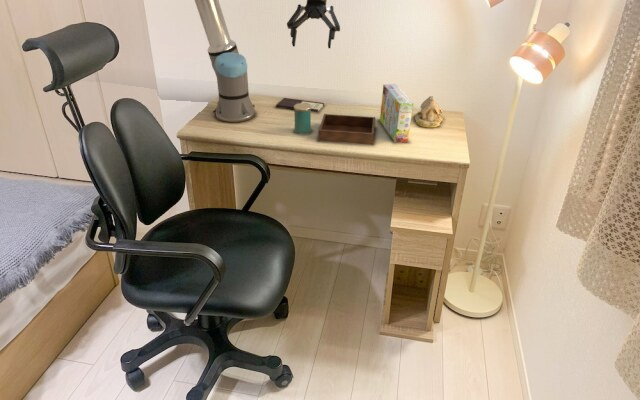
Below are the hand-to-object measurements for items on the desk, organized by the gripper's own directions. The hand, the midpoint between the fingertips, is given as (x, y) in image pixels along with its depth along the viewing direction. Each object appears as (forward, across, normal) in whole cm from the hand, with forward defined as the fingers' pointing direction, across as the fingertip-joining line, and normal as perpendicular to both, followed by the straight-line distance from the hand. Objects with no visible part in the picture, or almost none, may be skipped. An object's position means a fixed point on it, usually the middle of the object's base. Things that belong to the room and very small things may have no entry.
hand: (311, 45), depth 180 cm
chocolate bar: (+14, -6, +25) cm, 29 cm away
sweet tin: (+31, 0, +7) cm, 32 cm away
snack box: (+27, +33, +12) cm, 45 cm away
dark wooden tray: (+31, +16, +7) cm, 36 cm away
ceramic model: (+19, +47, +20) cm, 55 cm away
